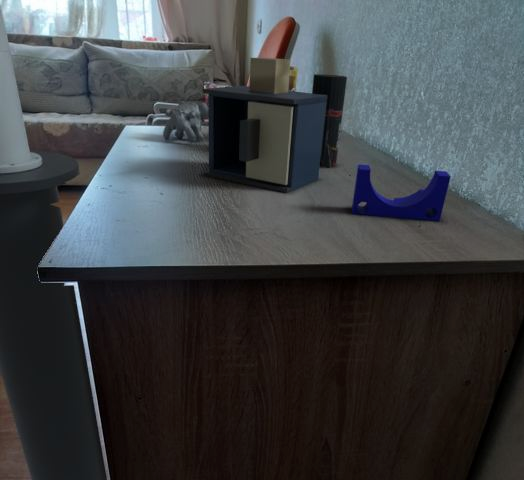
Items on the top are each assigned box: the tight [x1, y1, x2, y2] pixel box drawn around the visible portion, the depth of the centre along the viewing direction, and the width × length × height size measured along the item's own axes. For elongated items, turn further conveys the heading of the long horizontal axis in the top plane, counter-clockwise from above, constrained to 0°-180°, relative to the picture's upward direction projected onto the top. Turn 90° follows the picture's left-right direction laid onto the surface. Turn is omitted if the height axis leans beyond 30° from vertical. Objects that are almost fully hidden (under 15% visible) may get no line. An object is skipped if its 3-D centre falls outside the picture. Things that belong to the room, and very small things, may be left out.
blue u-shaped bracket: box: [351, 164, 451, 222], centre depth 69 cm, size 12×4×6 cm, turn 83°
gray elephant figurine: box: [162, 100, 208, 144], centre depth 107 cm, size 9×12×8 cm
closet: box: [202, 85, 327, 194], centre depth 80 cm, size 11×16×13 cm
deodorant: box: [311, 73, 348, 168], centre depth 91 cm, size 6×6×15 cm
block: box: [249, 57, 291, 94], centre depth 76 cm, size 4×4×4 cm
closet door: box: [239, 101, 293, 185], centre depth 74 cm, size 4×7×11 cm, turn 59°
